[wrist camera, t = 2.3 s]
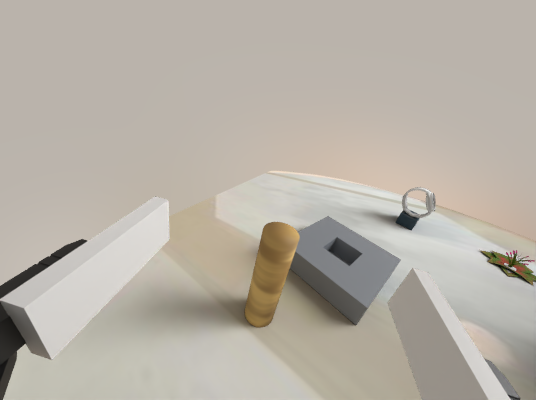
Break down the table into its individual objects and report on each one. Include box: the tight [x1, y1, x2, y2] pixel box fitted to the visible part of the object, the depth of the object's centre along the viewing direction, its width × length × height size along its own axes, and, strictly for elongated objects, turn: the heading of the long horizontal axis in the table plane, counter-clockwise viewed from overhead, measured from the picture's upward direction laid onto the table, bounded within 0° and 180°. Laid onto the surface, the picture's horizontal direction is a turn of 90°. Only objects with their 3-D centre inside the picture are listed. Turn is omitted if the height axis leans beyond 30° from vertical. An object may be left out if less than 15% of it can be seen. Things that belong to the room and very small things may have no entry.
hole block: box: [290, 216, 401, 325], centre depth 40 cm, size 16×16×4 cm
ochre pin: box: [245, 222, 300, 327], centre depth 26 cm, size 4×4×14 cm
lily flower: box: [480, 250, 536, 285], centre depth 52 cm, size 12×12×5 cm
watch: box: [396, 187, 435, 230], centre depth 60 cm, size 6×8×11 cm
